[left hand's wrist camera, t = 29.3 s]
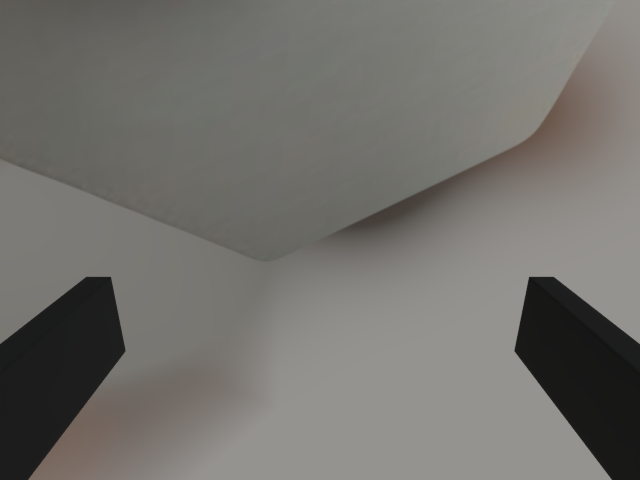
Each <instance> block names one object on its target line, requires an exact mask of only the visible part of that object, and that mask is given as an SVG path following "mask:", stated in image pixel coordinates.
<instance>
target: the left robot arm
mask: <svg viewBox="0 0 640 480" xmlns="http://www.w3.org/2000/svg"><path fill="white" fill-rule="evenodd" d="M124 352H125V346H124V341H123V336H122V331H121V326H120V321H119V316H118V311H117V306H116V301H115V296H114V290H113V285H112V280H111V277H86V278H84V279H83V280H82V281H81V282H79V283H78V284H77V285H75V286H74V287H73V288H72V289H70V290H69V291H68V292H66V293H65V294H64V295H63V296H61V297H60V298H59V299H58V300H56V301H55V302H54V303H52V304H51V305H50V306H49V307H47V308H46V309H45V310H43V311H42V312H41V313H40V314H38V315H37V316H36V317H34V318H33V319H32V320H31V321H29V322H28V323H27V324H25V325H24V326H23V327H22V328H20V329H19V330H18V331H17V332H15V333H14V334H13V335H11V336H10V337H9V338H8V339H6V340H5V341H4V342H2V343H1V344H0V480H28V479H29V478H30V476H31V475H32V474H33V472H34V471H35V470H36V468H37V467H38V466H39V465H40V463H41V462H42V461H43V459H44V458H45V457H46V455H47V454H48V453H49V451H50V450H51V449H52V447H53V446H54V445H55V443H56V442H57V441H58V439H59V438H60V437H61V435H62V434H63V433H64V432H65V430H66V429H67V428H68V426H69V425H70V424H71V422H72V421H73V420H74V418H75V417H76V416H77V414H78V413H79V412H80V410H81V409H82V408H83V407H84V405H85V404H86V403H87V401H88V400H89V399H90V397H91V396H92V395H93V393H94V392H95V391H96V389H97V388H98V387H99V385H100V384H101V383H102V381H103V380H104V379H105V377H106V376H107V375H108V374H109V372H110V371H111V370H112V368H113V367H114V366H115V364H116V363H117V362H118V360H119V359H120V358H121V356H122V355H123V354H124ZM515 352H516V354H517V355H518V356H519V358H520V359H521V360H522V362H523V363H524V364H525V366H526V367H527V368H528V370H529V371H530V372H531V374H532V375H533V376H534V377H535V379H536V380H537V381H538V383H539V384H540V385H541V387H542V388H543V389H544V391H545V392H546V393H547V395H548V396H549V397H550V399H551V400H552V401H553V403H554V404H555V405H556V407H557V408H558V409H559V410H560V412H561V413H562V414H563V416H564V417H565V418H566V420H567V421H568V422H569V424H570V425H571V426H572V428H573V429H574V430H575V432H576V433H577V434H578V436H579V437H580V438H581V439H582V441H583V442H584V443H585V445H586V446H587V447H588V449H589V450H590V451H591V453H592V454H593V455H594V457H595V458H596V459H597V461H598V462H599V463H600V465H601V466H602V467H603V469H604V470H605V471H606V472H607V474H608V475H609V476H610V478H611V479H612V480H640V344H639V343H638V342H636V341H635V340H634V339H632V338H631V337H630V336H629V335H627V334H626V333H625V332H624V331H622V330H621V329H620V328H618V327H617V326H616V325H615V324H613V323H612V322H611V321H609V320H608V319H607V318H606V317H604V316H603V315H602V314H600V313H599V312H598V311H597V310H595V309H594V308H593V307H591V306H590V305H589V304H588V303H586V302H585V301H584V300H582V299H581V298H580V297H579V296H577V295H576V294H575V293H574V292H572V291H571V290H570V289H568V288H567V287H566V286H565V285H563V284H562V283H561V282H559V281H558V280H557V279H556V278H554V277H529V280H528V285H527V291H526V296H525V301H524V306H523V311H522V316H521V321H520V326H519V331H518V336H517V341H516V346H515Z"/></svg>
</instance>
